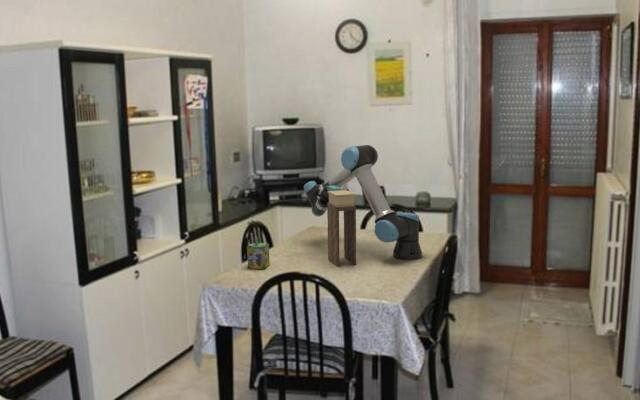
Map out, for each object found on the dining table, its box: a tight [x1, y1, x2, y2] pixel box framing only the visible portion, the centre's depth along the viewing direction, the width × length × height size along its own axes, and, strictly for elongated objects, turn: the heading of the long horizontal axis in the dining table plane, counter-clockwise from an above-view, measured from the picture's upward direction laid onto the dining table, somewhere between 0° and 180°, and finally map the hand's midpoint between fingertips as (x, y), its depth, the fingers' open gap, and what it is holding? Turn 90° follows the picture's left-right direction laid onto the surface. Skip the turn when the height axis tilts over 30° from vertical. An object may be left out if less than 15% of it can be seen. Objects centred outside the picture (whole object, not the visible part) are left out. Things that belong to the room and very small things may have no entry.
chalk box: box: [246, 237, 271, 270], centre depth 315 cm, size 9×9×15 cm
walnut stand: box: [326, 203, 357, 268], centre depth 319 cm, size 15×10×30 cm, turn 17°
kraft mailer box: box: [329, 194, 355, 207], centre depth 317 cm, size 13×9×5 cm
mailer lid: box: [327, 185, 356, 197], centre depth 321 cm, size 24×10×2 cm, turn 17°
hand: (334, 186), depth 326 cm, fingers open, 13 cm apart
